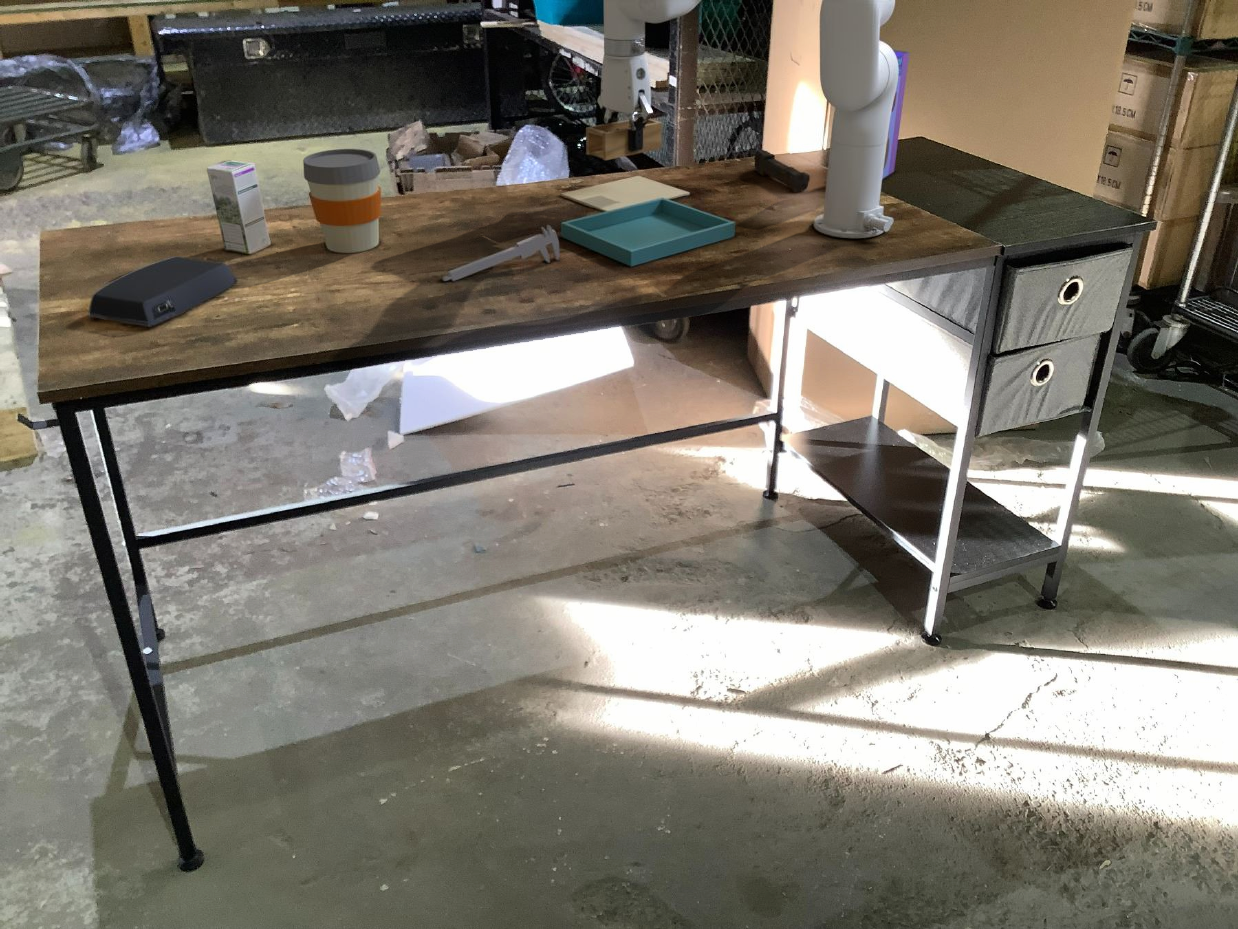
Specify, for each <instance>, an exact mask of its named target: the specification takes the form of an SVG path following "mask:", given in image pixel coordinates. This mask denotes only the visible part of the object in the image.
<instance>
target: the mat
mask: <svg viewBox="0 0 1238 929" xmlns="http://www.w3.org/2000/svg"><path fill="white" fill-rule="evenodd" d="M690 194H691V193H690V192H689V191H686V190H684V189H681V188H677V187H674V186H672V185H669V184H665V183H662V182H659V181H656V180H653V179H650V178H647V177H644V176H640V175H636V176H631V177H628V178H627V177H626V178H623V179H618V180H613V181H609V182H605V183H601V184H596V185H592V186H587V187H584V188H579V189H576V190H570V191H566V192H561V193H560V196H561V197H563V198H565V199H568V200H570V201H573V202H576V203H578V204H582V205H584V206H587V207H589V208H594V209H595V210H598V211H602V212H607V211H611V210H615V209H619V208H623V207H627V206H631V205H635V204H639V203H643V202H647V201H651V200H655V199H659V198H665V199H668V200H672V199H677V198H680V197H684V196H690Z"/></svg>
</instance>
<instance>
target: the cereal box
mask: <svg viewBox="0 0 1238 929" xmlns="http://www.w3.org/2000/svg"><path fill="white" fill-rule="evenodd" d="M892 50H893V51H894V53H895V55H896V57H897V61H898V68H899V73H898V82H897V87H896V92H895V96H894V101H893V105H892V110H891V116H890V123H889V130H888V138H887V144H886V152H885V160H884V168H883V176H882V181H883V180H884V179H886V178H888V177H889V176H891V175H892V174H893V173H895V167H896V158H897V151H898V143H899V136H900V127H901V121H902V120H901V119H902V111H903V104H904V96H905V90H906V83H907V82H906V81H907V75H908V74H907V73H908V66H909V58H910V51H905V50H898V49H892Z"/></svg>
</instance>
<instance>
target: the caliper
mask: <svg viewBox="0 0 1238 929" xmlns="http://www.w3.org/2000/svg"><path fill="white" fill-rule="evenodd" d="M540 228H541V232H542V234H541V233H539V234H535V235H533V236H531V237H527V238H525V239H523V240H520V241H518V242H516V243H515V245H514V246H511V247H509V248H506V249H504V250H501V251H498V252H496V253H493V254H491V255H487V256H485V257H482V258H480V259H477V260H475V261H472V262H470V263H466V264H464V265H462V266H461V265H460V266H458V267H456V268H454V269H450V270H449V271H448V274H445V275H444V276H442V278H441V280H443V282H447V281H452V282H455V281H458V280H460V279H463V278H465V277H468V276H471V275H473V274H476V273H478V272H481V271H483V270H486V269H489V268H491V267H493V266H497V265H499V264H502V263H504V262H507V261H510V260H512V259H515V258H518V257H519V258H521V259H522V260H525V259H526V258H528V257H532V256H533V255H535V254H536V252H539V254H540V256H541V257H542V258H543V260H544V261H545V262H547V263H551V260H550V254H549V251H548V249H547V246H548V245H550V247H551V251H552V254H553V258H554V259H555V260H556V261H558V260H560V253H561V252H560V241H559V238H558V237H559V236H558V235H557V232H556V230H555V229H553V228H552V226H551V225H550V224H547V225H546V229H545V228H544V227H543V226H541V227H540Z"/></svg>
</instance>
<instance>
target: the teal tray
mask: <svg viewBox="0 0 1238 929" xmlns="http://www.w3.org/2000/svg"><path fill="white" fill-rule="evenodd" d="M560 229H561V230H560V232H561V233H560V234H561V238H563V239H566V240H567V241H570V242H572V243H574V244H577V245H579V246H582V247H585V248H587V249H588V250H591V251H594V252H596V253H597V254H601V255H603V256H606V257H608V258H610V259H612V260H614V261H617V262H620V263H621V264H625V265H627V266H629V267H634V266H638V265H642V264H645V263H649V262H651V261H655V260H660V259H662V258H666V257H669V256H672V255H676V254H679V253H683V252H686V251H689V250H692V249H696V248H700V247H703V246H706V245H710V244H713V243H717V242H720V241H724V240H727V239H731V238H735V235H736V234H735V232H736V222H735V221H732V220H729V219H726V218H724V217H720V216H718V215H715V214H712V213H709V212H706V211H703V210H700V209H697V208H695V207H691V206H688V205H685V204H682V203H680V202H677V201H674V200H672V199H669V200H668V199H665V198H659V199H655V200H651V201H647V202H643V203H639V204H635V205H631V206H627V207H623V208H619V209H615V210H611V211H607V212H604V211H602V212H599V213H595V214H591V215H586V216H583V217H578V218H575V219H570V220H567V221H563V222H561V223H560Z"/></svg>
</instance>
